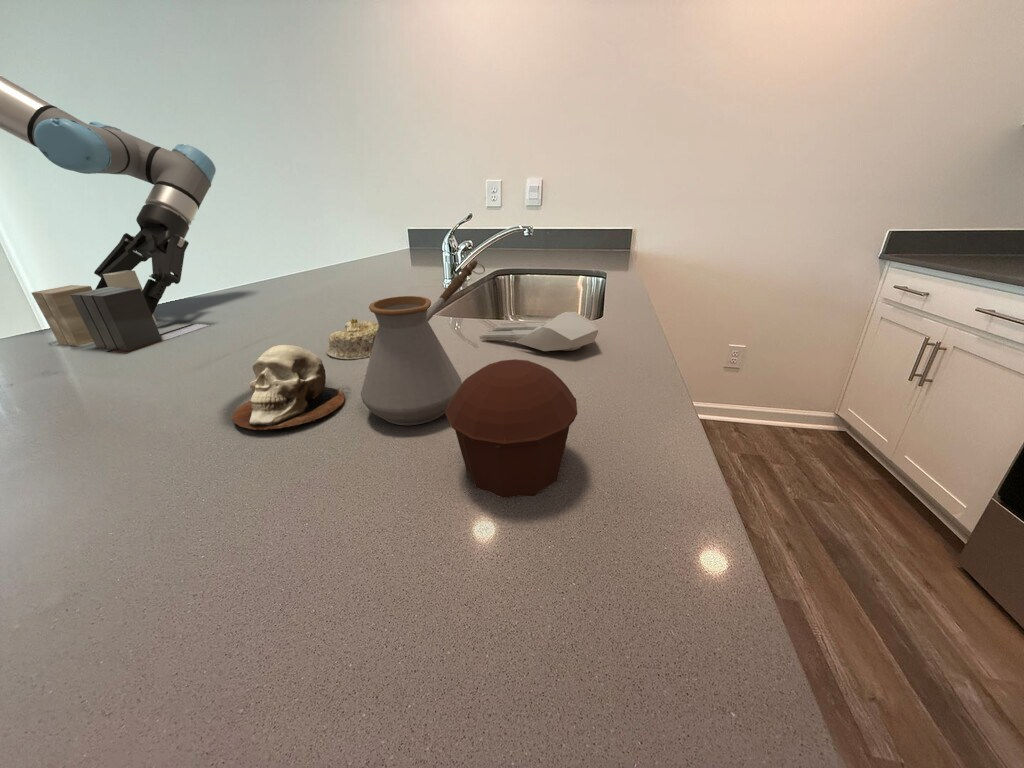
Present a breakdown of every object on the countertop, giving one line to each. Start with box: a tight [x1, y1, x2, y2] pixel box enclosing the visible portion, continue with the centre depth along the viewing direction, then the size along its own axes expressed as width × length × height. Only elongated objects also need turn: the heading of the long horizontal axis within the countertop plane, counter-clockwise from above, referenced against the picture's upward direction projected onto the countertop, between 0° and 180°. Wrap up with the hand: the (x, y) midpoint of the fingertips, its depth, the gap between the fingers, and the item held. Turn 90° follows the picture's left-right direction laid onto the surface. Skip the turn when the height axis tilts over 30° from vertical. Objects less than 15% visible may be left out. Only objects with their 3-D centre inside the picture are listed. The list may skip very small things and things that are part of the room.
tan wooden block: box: [31, 284, 94, 347], centre depth 73 cm, size 8×15×10 cm, turn 165°
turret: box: [478, 311, 599, 352], centre depth 67 cm, size 10×20×5 cm, turn 61°
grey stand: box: [71, 287, 211, 355], centre depth 70 cm, size 8×15×10 cm, turn 166°
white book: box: [103, 270, 157, 323], centre depth 77 cm, size 2×4×10 cm, turn 165°
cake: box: [325, 318, 379, 360], centre depth 66 cm, size 10×10×5 cm
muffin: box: [444, 358, 578, 499], centre depth 36 cm, size 12×11×10 cm
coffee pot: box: [360, 259, 486, 426], centre depth 49 cm, size 21×12×15 cm, turn 151°
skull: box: [231, 344, 346, 431], centre depth 49 cm, size 12×10×10 cm
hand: (118, 312), depth 75 cm, fingers open, 11 cm apart
